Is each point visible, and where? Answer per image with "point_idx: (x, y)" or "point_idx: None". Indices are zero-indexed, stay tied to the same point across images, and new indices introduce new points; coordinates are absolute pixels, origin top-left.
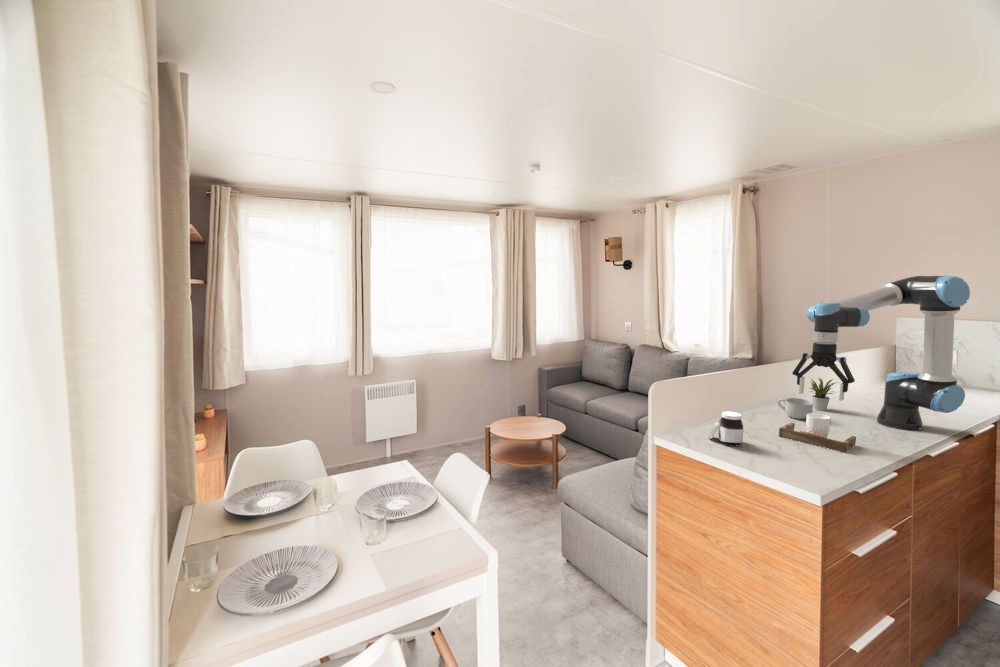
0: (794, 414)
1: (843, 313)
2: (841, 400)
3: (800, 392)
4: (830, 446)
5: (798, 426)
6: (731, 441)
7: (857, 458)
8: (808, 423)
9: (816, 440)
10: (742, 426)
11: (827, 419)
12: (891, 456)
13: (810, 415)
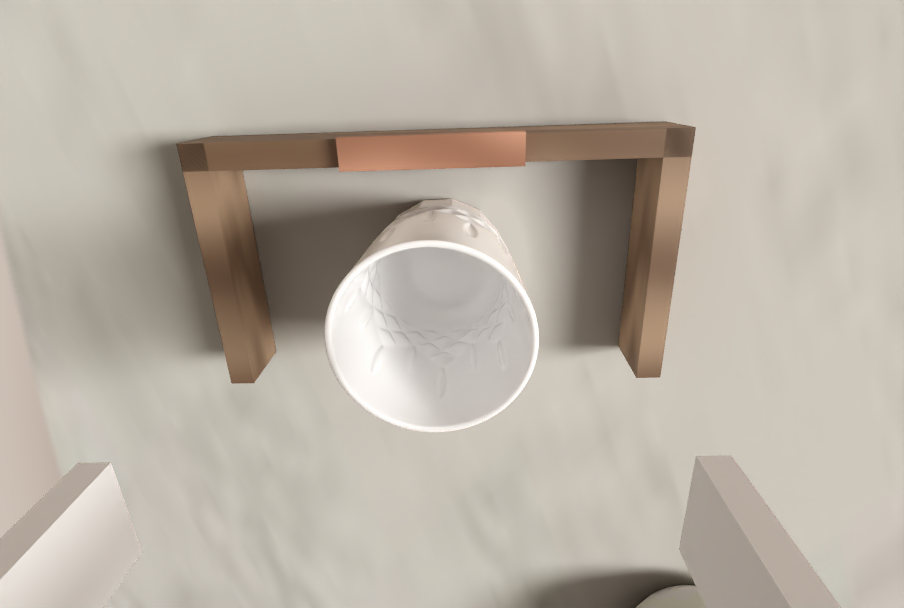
0: (700, 597)
1: None
2: (75, 470)
3: (716, 471)
4: (295, 135)
5: (626, 462)
6: None
7: (108, 80)
8: (487, 239)
9: (389, 133)
10: None
11: (330, 301)
12: (50, 308)
13: (516, 368)
